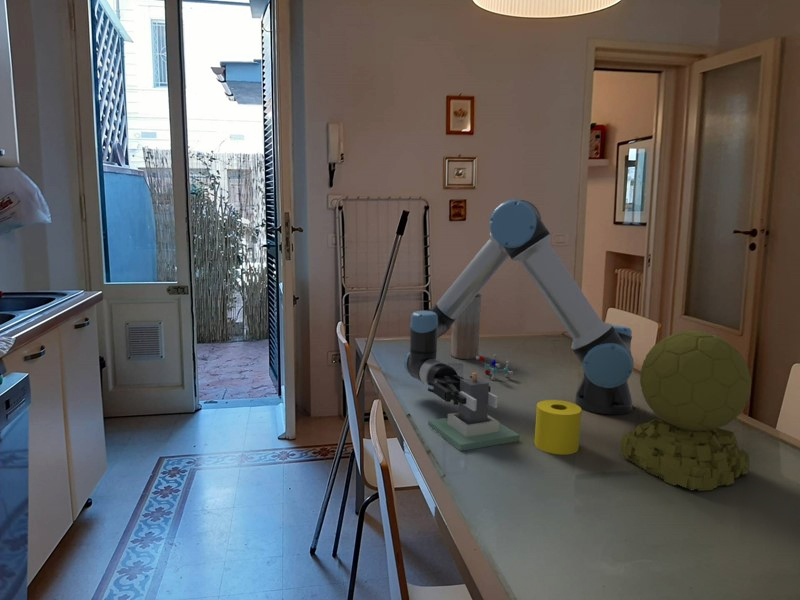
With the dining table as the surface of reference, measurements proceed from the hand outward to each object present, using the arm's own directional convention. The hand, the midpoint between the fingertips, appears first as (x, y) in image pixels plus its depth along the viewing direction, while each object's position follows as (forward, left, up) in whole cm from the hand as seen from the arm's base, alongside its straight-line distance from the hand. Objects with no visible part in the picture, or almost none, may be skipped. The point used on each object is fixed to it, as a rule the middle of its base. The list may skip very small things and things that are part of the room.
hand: (485, 403), depth 141 cm
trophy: (-40, -16, -10) cm, 44 cm away
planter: (+43, -66, -9) cm, 79 cm away
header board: (+5, -3, -9) cm, 11 cm away
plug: (+5, -3, -6) cm, 8 cm away
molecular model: (+22, -48, -10) cm, 53 cm away
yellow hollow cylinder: (-14, -9, -9) cm, 19 cm away
